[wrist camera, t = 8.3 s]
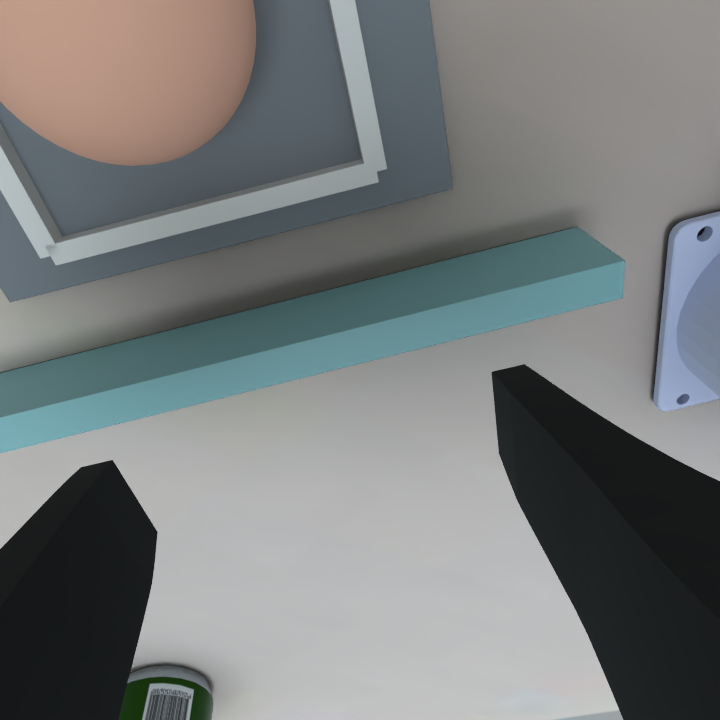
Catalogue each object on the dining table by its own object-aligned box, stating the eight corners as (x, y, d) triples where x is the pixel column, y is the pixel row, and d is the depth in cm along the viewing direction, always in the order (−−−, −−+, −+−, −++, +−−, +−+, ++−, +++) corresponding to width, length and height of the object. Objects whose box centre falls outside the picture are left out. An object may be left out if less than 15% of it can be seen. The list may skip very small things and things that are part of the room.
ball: (213, -162, 12) (168, -290, 7) (287, 112, 15) (291, 152, 10) (-35, -95, 12) (-245, -177, 7) (89, 164, 15) (0, 228, 10)
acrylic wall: (577, 226, 18) (624, 260, 15) (577, 260, 18) (622, 297, 16) (-2, 373, 18) (-48, 429, 16) (18, 400, 19) (-23, 458, 16)
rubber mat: (367, -445, 10) (374, -487, 9) (449, 184, 17) (458, 194, 16) (-330, -243, 11) (-382, -266, 10) (15, 296, 17) (1, 311, 16)
